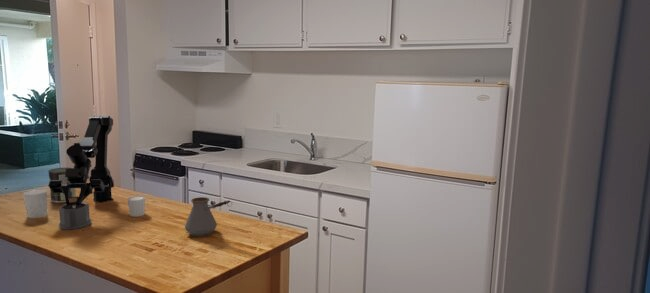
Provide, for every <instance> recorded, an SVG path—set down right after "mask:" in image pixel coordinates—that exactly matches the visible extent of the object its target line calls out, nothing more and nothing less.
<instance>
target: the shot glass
mask: <svg viewBox="0 0 650 293" xmlns="http://www.w3.org/2000/svg"><path fill="white" fill-rule="evenodd" d="M127 205H128V209H129V210H128V211H129V216H130V217H132V218H133V217H135V218H136V217H142V216H144V215H145V214H146V212H145V211H146V197H145V196H138V195H137V196H132V197H129V198H127Z"/></svg>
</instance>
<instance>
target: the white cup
mask: <svg viewBox="0 0 650 293" xmlns="http://www.w3.org/2000/svg"><path fill="white" fill-rule="evenodd" d="M23 199H24V205H25V210H26V216H27V218H28V219H38V218H44V217H45V216H47V215H48V191H47V190H45V189H33V190H29V191H24V192H23Z"/></svg>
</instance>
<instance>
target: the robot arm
mask: <svg viewBox="0 0 650 293" xmlns="http://www.w3.org/2000/svg"><path fill="white" fill-rule="evenodd" d="M113 126H114V118H112V117H111V115H95V116H90V117H89V118H88V125H87V128H86V131H85V134H84V137H83V138H82V139H81V140H79V141H78V142H74V143H73V144H72V145H71V146H69V147H68V148H67V149H66V151H65V152H66V155H67V156H68V159H69V160H70V161H71V163H72V164H73V167H70V168H71V169H66V171H65V177H67V178H68V179H67V180H68V181H70V183H67V182H62V180H51V181H50V182H48V185H47V186H48V188H49V190H50V189H51V190H52V192H53V193H63V194H65V200H66V202H65V205H67V206H68V205H69V200H68V198H69V197H71V196H72V192H71V191H70V190H71V188H75V189H80V191H79V195H78V197H79V198H78V201H77V205H78V206H79V205H80V204H81V203H83V202H84V200H86V198H88V196H89V195H92V194H93V200H92V201H95V202H97V203H105V202H110V201H114V198H112V188H114V187H115V182H114V181H115V180H114V179H113V177H112V175H111V171H110V169H109V168H108V166H107V164H108V163H107V162H108V138H109V137H108V136H109V135H110V133H111V132H112V129H113ZM94 158H95V163H94V164H95V166H94V167H93V168H92V161H91V159H94ZM91 168H92V169H91ZM90 169H91V170H90ZM89 175H90V176H89ZM88 180H89V182H88Z"/></svg>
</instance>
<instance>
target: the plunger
mask: <svg viewBox="0 0 650 293" xmlns="http://www.w3.org/2000/svg"><path fill="white" fill-rule="evenodd" d="M78 198H79V195H76V196H73V197H69V198H68V200H69V205H73V209H76V205H75V204H77V201H78Z"/></svg>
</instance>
